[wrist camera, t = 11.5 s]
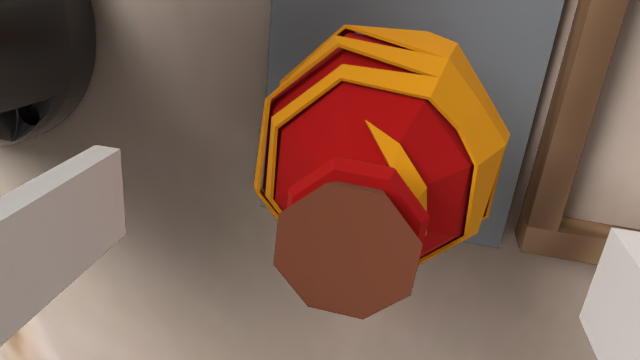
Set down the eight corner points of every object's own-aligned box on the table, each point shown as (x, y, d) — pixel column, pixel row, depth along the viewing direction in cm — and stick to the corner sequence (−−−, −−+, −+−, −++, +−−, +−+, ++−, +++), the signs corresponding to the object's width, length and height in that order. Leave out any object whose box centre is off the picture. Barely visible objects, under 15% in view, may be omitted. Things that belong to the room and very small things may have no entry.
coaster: (263, 201, 32) (260, 205, 31) (277, -47, 26) (274, -47, 26) (498, 243, 30) (499, 248, 29) (566, -18, 24) (569, -18, 24)
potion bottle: (506, 186, 28) (575, 393, 14) (323, 215, 30) (231, 411, 17) (473, -17, 24) (521, -5, 11) (272, 38, 27) (108, 102, 14)
